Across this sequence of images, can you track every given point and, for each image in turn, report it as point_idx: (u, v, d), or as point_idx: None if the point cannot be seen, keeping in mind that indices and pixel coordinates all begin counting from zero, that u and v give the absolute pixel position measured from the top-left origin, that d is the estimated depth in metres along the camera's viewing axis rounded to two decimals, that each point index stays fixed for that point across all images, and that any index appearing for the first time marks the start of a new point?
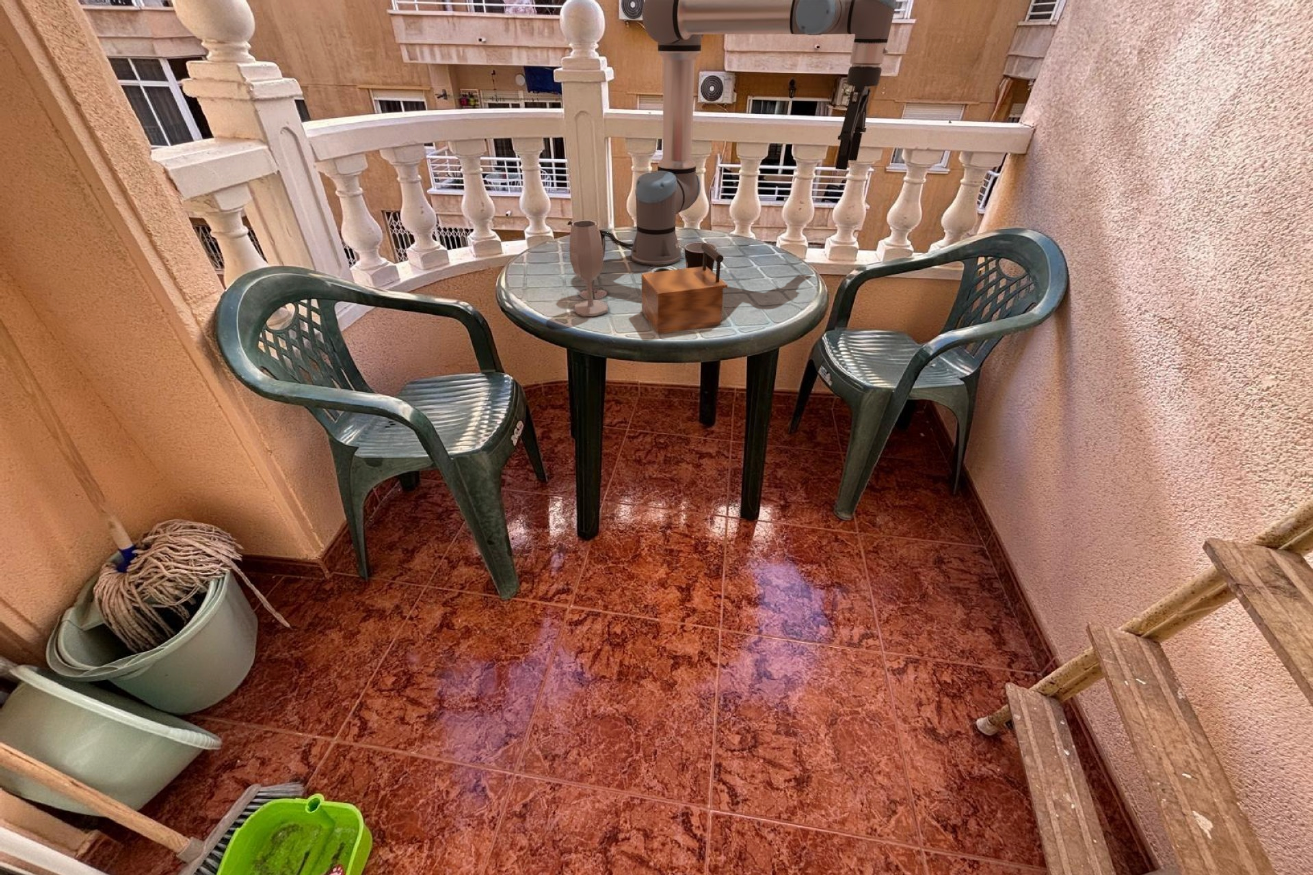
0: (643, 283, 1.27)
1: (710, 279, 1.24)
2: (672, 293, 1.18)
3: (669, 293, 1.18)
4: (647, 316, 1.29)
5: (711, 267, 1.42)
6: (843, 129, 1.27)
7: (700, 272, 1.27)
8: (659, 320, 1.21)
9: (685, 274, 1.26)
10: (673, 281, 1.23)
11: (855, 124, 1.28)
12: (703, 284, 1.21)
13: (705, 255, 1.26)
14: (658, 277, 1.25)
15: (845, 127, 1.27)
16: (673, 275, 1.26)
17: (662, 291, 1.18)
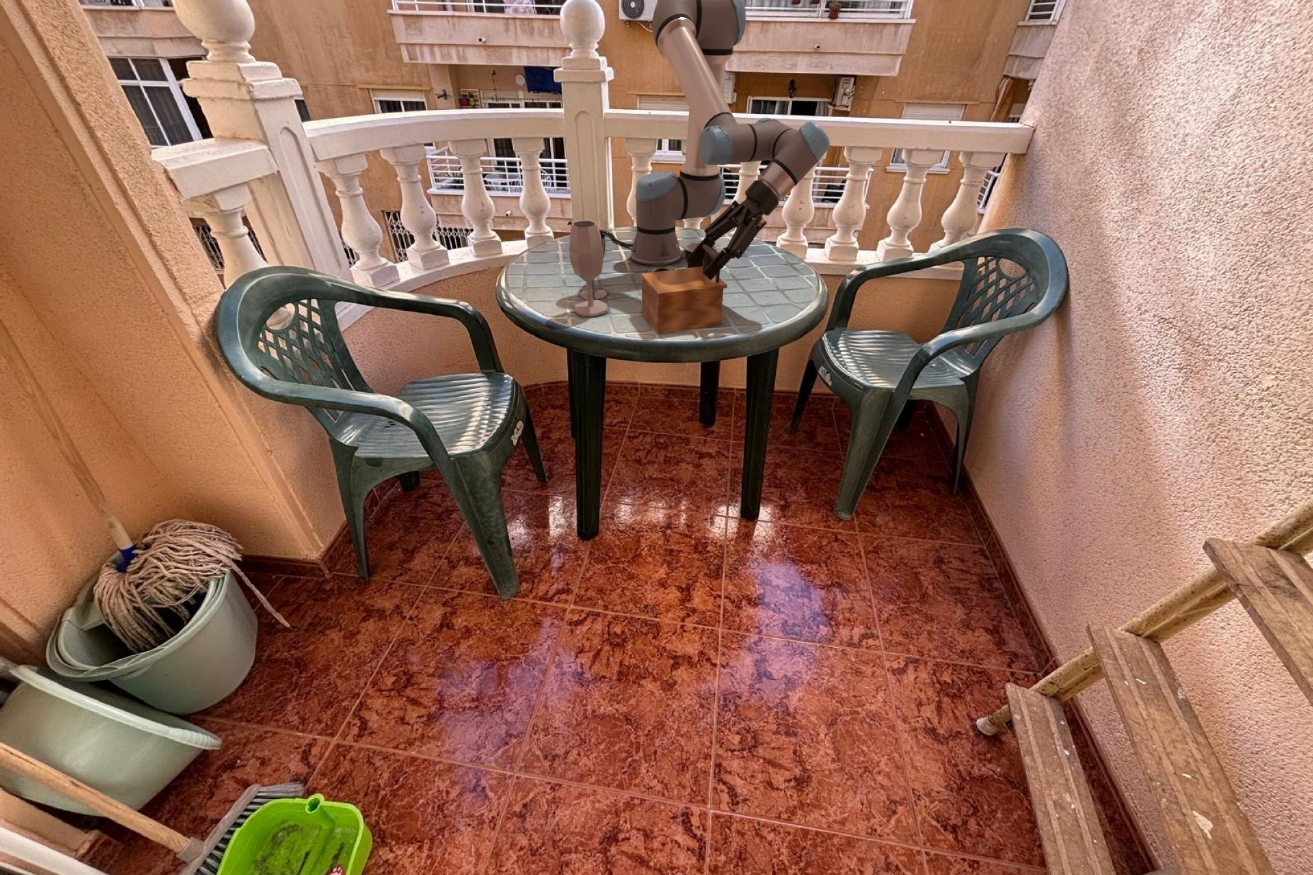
0: (643, 283, 1.27)
1: None
2: (672, 293, 1.18)
3: (669, 293, 1.18)
4: (647, 316, 1.29)
5: None
6: (738, 247, 1.15)
7: (700, 272, 1.27)
8: (659, 320, 1.21)
9: (685, 274, 1.26)
10: (673, 281, 1.23)
11: None
12: (703, 284, 1.21)
13: (705, 255, 1.26)
14: (658, 277, 1.25)
15: (740, 245, 1.15)
16: (673, 275, 1.26)
17: (662, 291, 1.18)
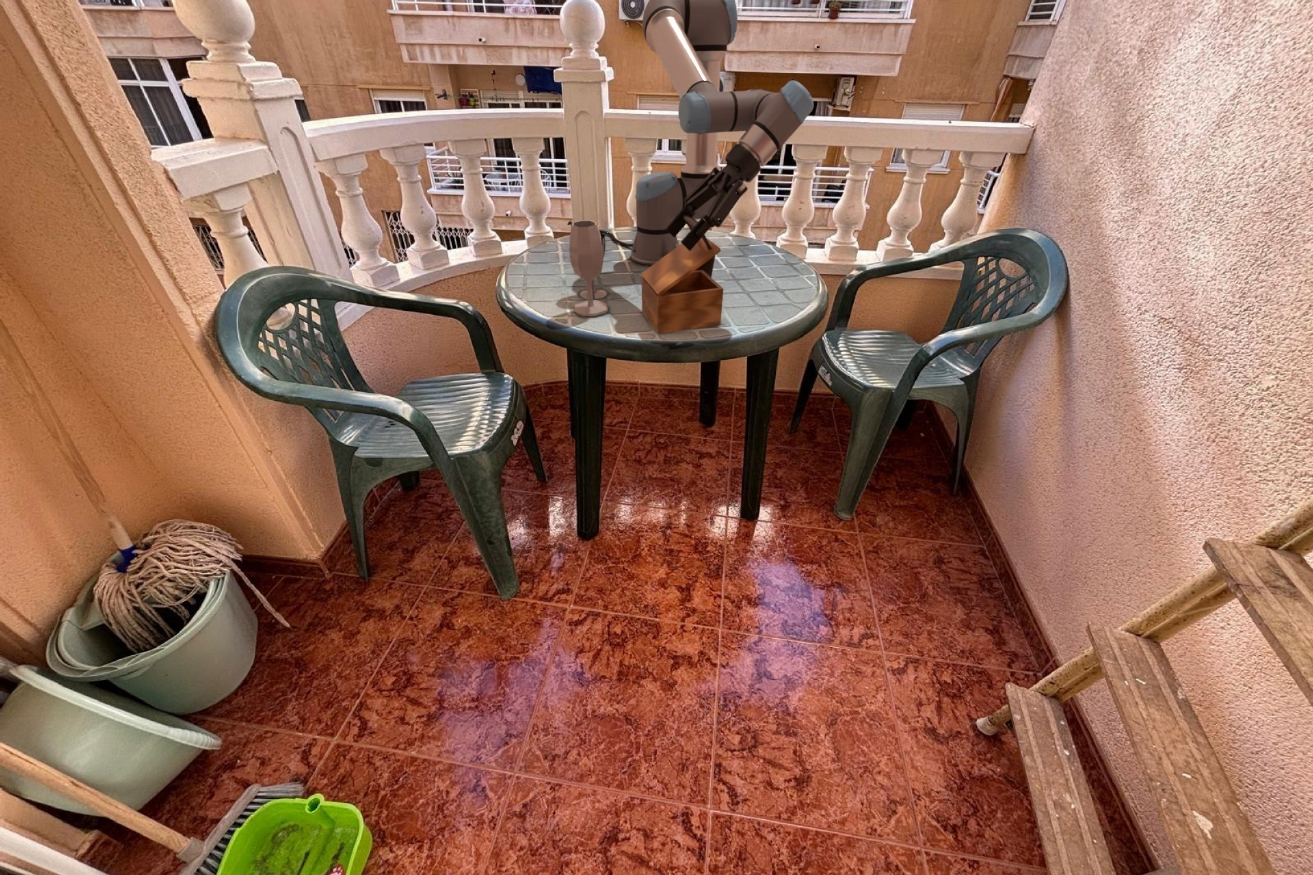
0: (643, 283, 1.27)
1: (703, 248, 1.19)
2: (670, 286, 1.17)
3: (667, 287, 1.17)
4: (647, 316, 1.29)
5: (711, 267, 1.42)
6: (718, 214, 1.09)
7: None
8: (659, 320, 1.21)
9: (680, 254, 1.23)
10: (669, 269, 1.21)
11: None
12: (697, 260, 1.17)
13: (690, 225, 1.21)
14: (655, 271, 1.24)
15: (719, 213, 1.10)
16: (668, 261, 1.23)
17: (660, 288, 1.18)
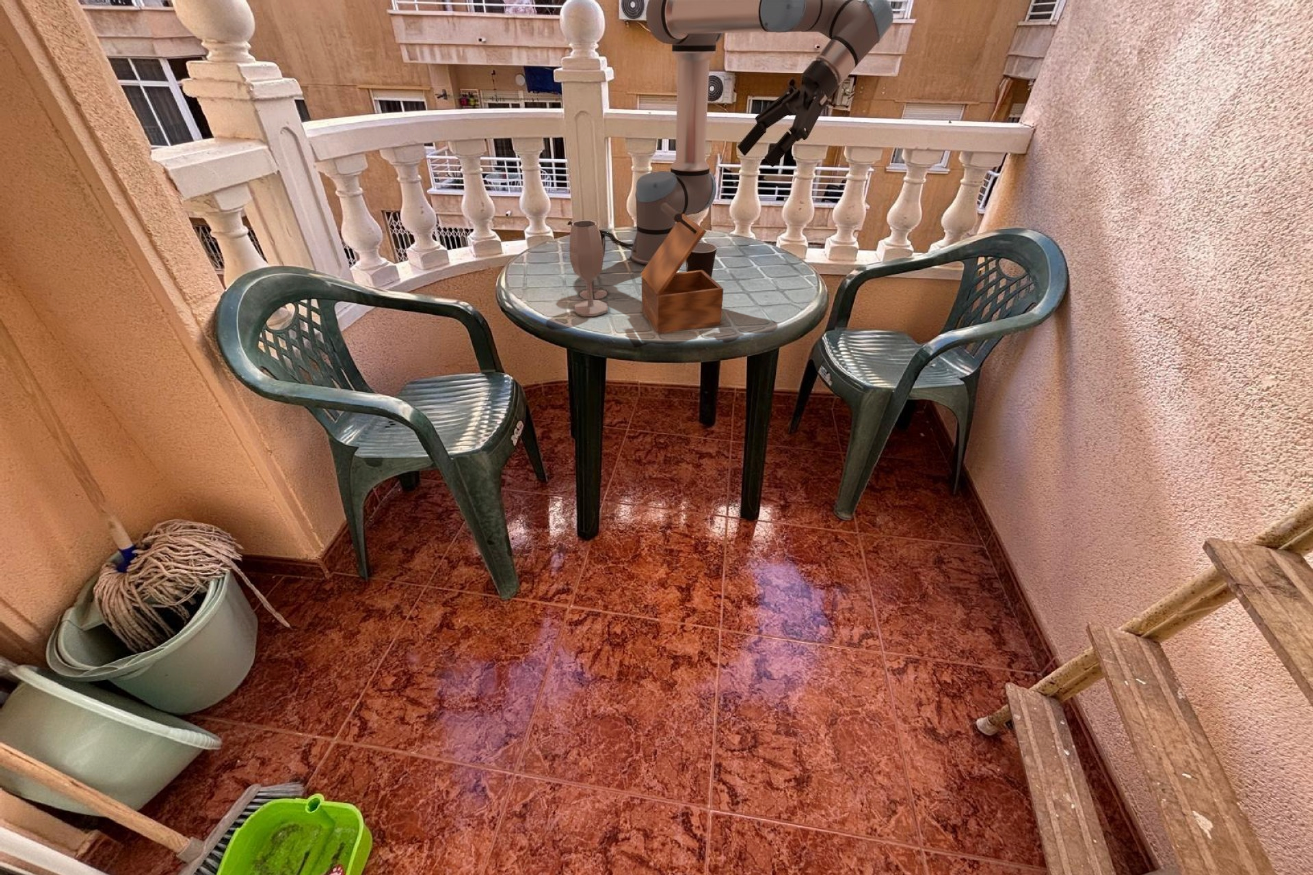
0: (643, 283, 1.27)
1: (689, 232, 1.16)
2: (667, 282, 1.16)
3: (665, 285, 1.16)
4: (647, 316, 1.29)
5: (711, 267, 1.42)
6: (805, 125, 1.08)
7: (680, 229, 1.20)
8: (659, 320, 1.21)
9: (670, 244, 1.21)
10: (663, 264, 1.20)
11: None
12: (686, 248, 1.15)
13: None
14: (652, 268, 1.23)
15: (806, 124, 1.08)
16: (661, 255, 1.22)
17: (658, 287, 1.18)
